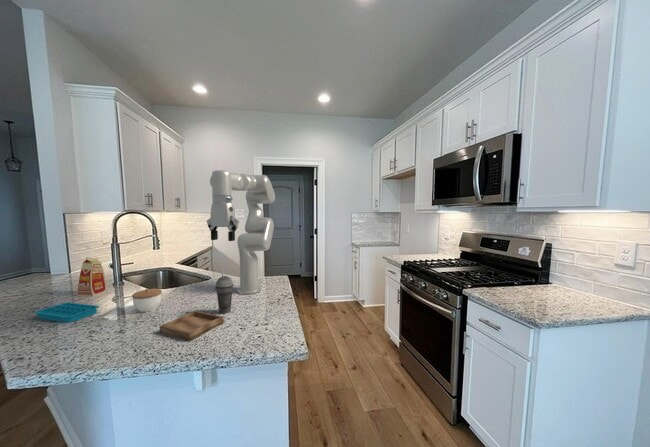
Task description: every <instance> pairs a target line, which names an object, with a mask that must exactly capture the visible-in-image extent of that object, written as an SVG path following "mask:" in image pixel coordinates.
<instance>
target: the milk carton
mask: <svg viewBox="0 0 650 447" xmlns="http://www.w3.org/2000/svg"><path fill="white" fill-rule="evenodd" d="M107 291H108V289H107V282H106V276H105V271H104V267H103V264H102V262H101V261H100V260H99V257H87V256H86V257H85V260H84V261H83V262H82V265H81V269H80V272H79V278H78V282H77V291H76V296H77V297H95V296H98V295H101V294H103V293H106V292H107Z"/></svg>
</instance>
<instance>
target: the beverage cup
mask: <svg viewBox="0 0 650 447" xmlns="http://www.w3.org/2000/svg"><path fill="white" fill-rule="evenodd" d="M220 271H221V277H219V278H218V279H217V280H216V283H215V290H216V294H217V295H216V296H217V305H218V311H219V314H221V315H225V314H229V313H231V311H232V299H233V298H232V297H233V288H234V282H233V280H232V278H231V277H229V276H227V275H224V270H223V266H220Z"/></svg>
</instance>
